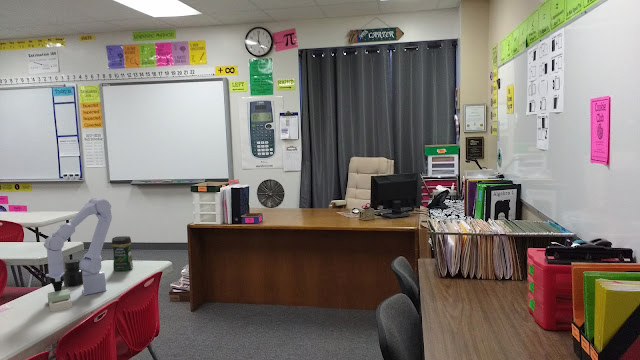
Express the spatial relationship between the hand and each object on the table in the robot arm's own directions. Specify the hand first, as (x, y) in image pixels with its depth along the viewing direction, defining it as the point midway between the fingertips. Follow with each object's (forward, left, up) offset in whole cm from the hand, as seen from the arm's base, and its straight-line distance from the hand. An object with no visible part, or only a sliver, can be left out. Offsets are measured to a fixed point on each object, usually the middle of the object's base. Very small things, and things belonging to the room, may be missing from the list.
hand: (58, 293), depth 198 cm
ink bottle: (-8, -23, -4) cm, 24 cm away
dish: (0, +8, -4) cm, 9 cm away
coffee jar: (-33, -34, -4) cm, 47 cm away
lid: (0, +5, -1) cm, 5 cm away
